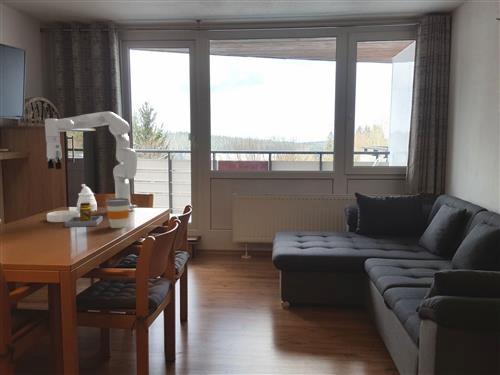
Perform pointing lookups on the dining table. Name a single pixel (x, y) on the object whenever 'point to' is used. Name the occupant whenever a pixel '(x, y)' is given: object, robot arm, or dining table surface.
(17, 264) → the dining table surface
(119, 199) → the reusable coffee cup
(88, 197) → the honey pot
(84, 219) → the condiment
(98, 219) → the square frame
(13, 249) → the dining table surface
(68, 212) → the bowl
